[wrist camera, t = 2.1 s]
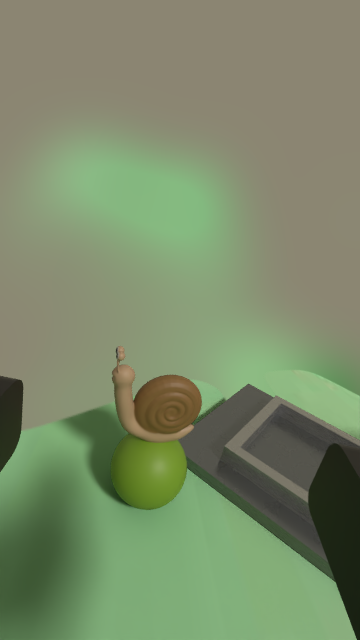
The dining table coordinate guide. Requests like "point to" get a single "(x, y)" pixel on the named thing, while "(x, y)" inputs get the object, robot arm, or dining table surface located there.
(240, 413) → the tray
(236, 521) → the dining table surface
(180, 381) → the snail figurine
